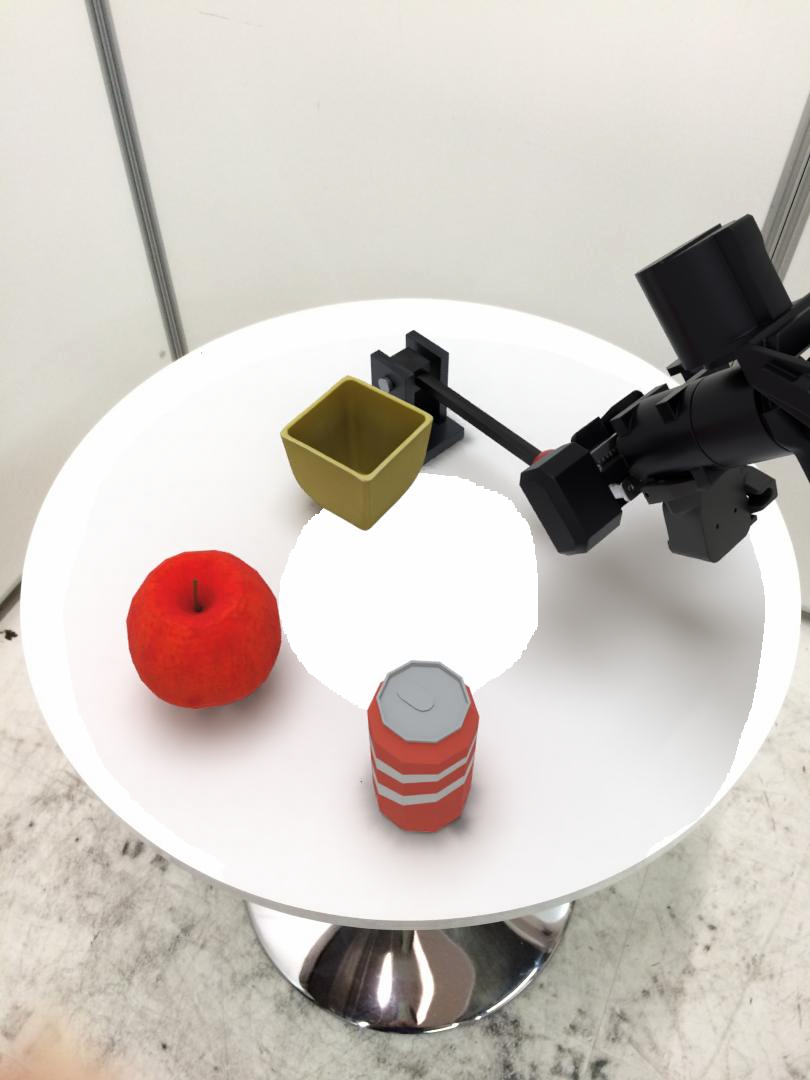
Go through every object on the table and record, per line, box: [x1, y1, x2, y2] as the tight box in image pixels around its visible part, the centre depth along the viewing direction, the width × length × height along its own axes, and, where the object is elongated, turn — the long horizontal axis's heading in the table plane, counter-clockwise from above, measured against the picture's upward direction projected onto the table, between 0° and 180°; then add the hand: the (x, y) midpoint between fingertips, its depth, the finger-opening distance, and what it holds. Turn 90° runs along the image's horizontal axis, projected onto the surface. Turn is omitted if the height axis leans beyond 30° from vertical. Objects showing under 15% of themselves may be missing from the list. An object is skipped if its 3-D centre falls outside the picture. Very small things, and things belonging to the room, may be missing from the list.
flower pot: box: [279, 374, 433, 532], centre depth 70 cm, size 9×9×9 cm
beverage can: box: [366, 659, 480, 833], centre depth 53 cm, size 6×6×12 cm
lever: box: [390, 346, 556, 467], centre depth 70 cm, size 19×3×3 cm, turn 43°
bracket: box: [369, 329, 465, 465], centre depth 76 cm, size 8×6×9 cm
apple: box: [125, 549, 282, 711], centre depth 58 cm, size 10×10×12 cm
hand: (564, 467), depth 65 cm, fingers closed, pressing on lever
